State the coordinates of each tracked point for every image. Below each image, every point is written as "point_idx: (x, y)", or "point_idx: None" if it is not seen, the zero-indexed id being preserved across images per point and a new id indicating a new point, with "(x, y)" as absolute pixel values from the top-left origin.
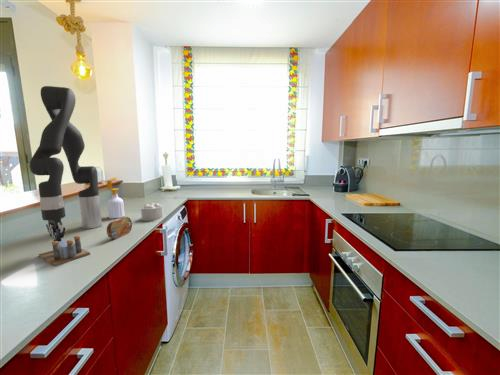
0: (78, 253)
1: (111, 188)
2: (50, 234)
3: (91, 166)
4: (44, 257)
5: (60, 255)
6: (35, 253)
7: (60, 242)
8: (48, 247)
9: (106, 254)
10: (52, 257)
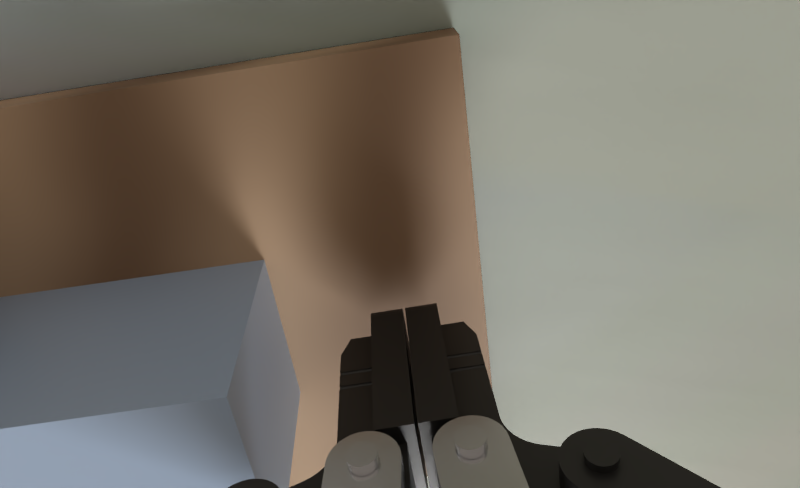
0: None
1: None
2: (619, 485)
3: None
4: (163, 90)
5: (57, 293)
6: (676, 5)
7: (135, 473)
8: (789, 215)
9: None
10: (63, 190)
